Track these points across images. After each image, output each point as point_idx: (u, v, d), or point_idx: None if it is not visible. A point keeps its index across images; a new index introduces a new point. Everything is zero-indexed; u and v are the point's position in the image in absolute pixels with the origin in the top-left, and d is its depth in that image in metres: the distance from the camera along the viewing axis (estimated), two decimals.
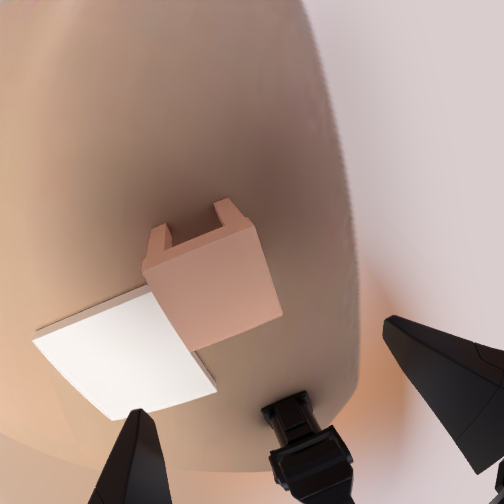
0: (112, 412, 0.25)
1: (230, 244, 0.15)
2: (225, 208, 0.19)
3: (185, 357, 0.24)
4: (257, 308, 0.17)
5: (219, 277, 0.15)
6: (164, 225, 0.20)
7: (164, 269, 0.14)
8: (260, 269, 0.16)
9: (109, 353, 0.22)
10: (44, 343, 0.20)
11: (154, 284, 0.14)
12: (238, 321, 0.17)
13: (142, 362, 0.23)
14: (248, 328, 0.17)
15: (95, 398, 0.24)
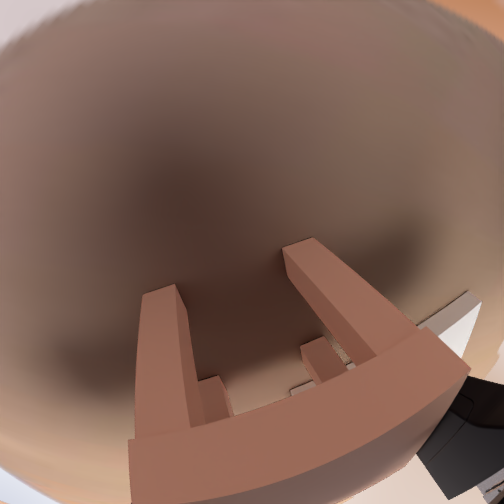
0: None
1: None
2: None
3: None
4: (405, 437, 0.04)
5: None
6: None
7: None
8: (287, 484, 0.03)
9: None
10: None
11: None
12: (405, 449, 0.05)
13: None
14: (435, 424, 0.05)
15: None
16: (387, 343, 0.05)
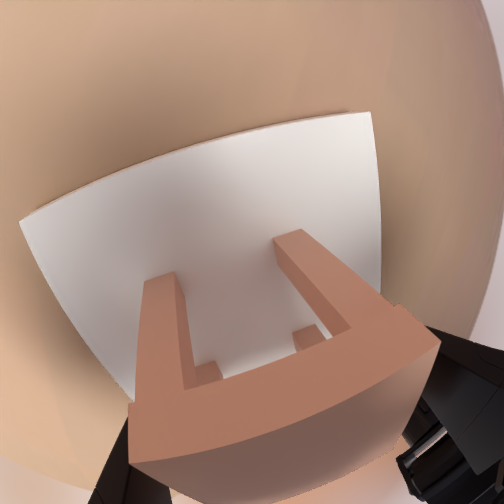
0: None
1: (186, 482, 0.04)
2: None
3: (371, 276, 0.13)
4: (383, 408, 0.05)
5: (265, 478, 0.05)
6: None
7: None
8: (269, 442, 0.04)
9: (228, 259, 0.10)
10: (49, 229, 0.08)
11: None
12: (386, 425, 0.06)
13: (294, 287, 0.12)
14: (415, 401, 0.06)
15: None
16: (362, 318, 0.06)
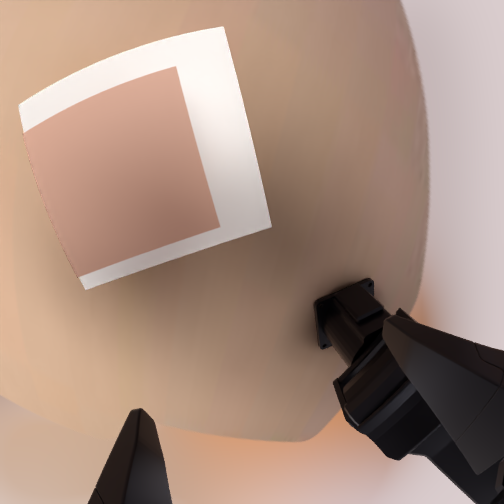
0: None
1: (41, 162, 0.08)
2: None
3: (241, 136, 0.16)
4: (148, 110, 0.08)
5: (83, 174, 0.09)
6: None
7: (72, 249, 0.09)
8: (79, 113, 0.08)
9: None
10: (34, 106, 0.11)
11: (92, 263, 0.10)
12: (166, 143, 0.09)
13: None
14: (188, 125, 0.09)
15: None
16: None
